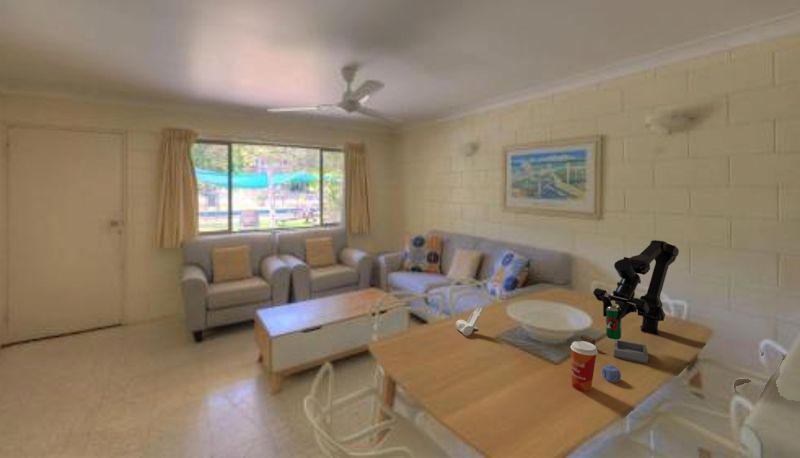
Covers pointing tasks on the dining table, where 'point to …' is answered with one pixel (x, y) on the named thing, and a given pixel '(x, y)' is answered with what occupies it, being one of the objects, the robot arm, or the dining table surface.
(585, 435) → the dining table surface
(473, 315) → the plastic part
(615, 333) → the soda can
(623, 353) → the tray
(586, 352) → the paper cup
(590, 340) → the brown rectangular block
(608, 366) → the decorative dice
